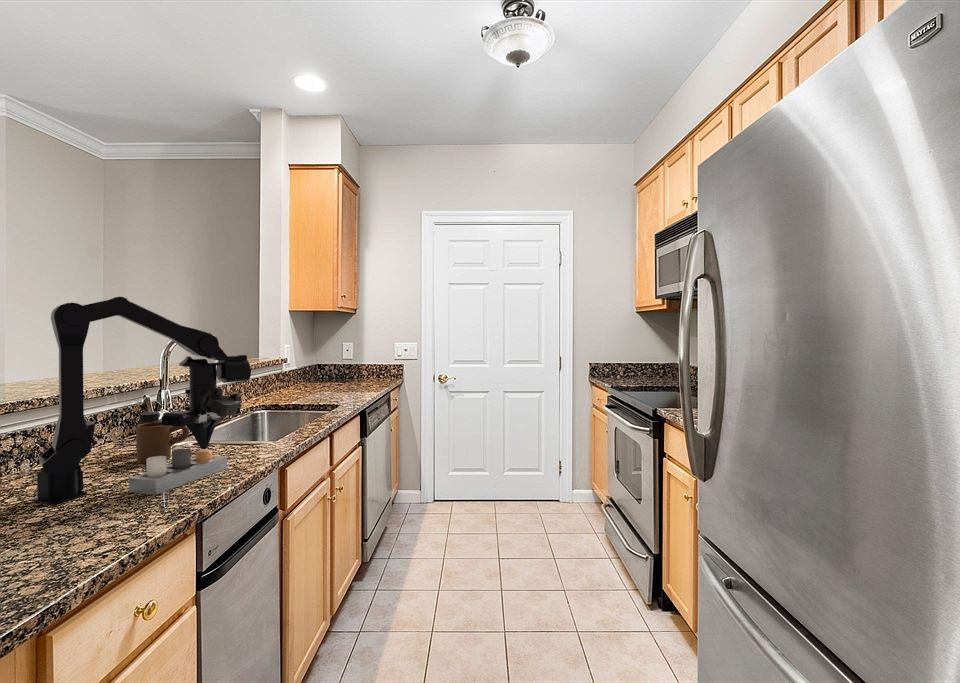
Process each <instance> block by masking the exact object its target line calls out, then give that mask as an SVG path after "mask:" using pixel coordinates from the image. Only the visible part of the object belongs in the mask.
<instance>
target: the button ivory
mask: <svg viewBox="0 0 960 683" xmlns="http://www.w3.org/2000/svg"><path fill="white" fill-rule="evenodd" d="M146 462H147V463H146V472H147V477H149V478H158V477H161V476H164V475H167V466H168V465H167V460H166V456H154V457H149V458H147V459H146Z"/></svg>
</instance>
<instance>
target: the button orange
mask: <svg viewBox="0 0 960 683" xmlns="http://www.w3.org/2000/svg"><path fill="white" fill-rule="evenodd" d="M194 453H195V456H194V457H195V461H197V462H206V461H209V460H212V459H213V457H212V455H213V450H212V449H201V450H197V451H195V452H194Z"/></svg>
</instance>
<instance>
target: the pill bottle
mask: <svg viewBox="0 0 960 683" xmlns="http://www.w3.org/2000/svg"><path fill="white" fill-rule="evenodd" d="M160 417H161V414H160V412H159V411H149V412H148V411H146V412H142V413H139V419H140V421H139V422H138V423H137V424H136V427H137V426H138V425H141V424H145V423H153V422H162V420H160Z"/></svg>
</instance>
